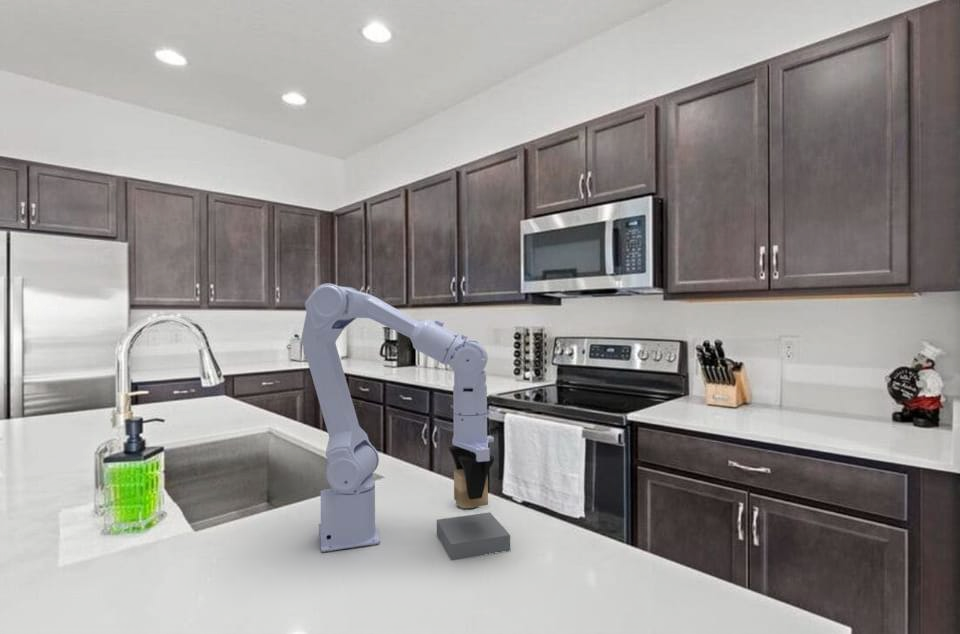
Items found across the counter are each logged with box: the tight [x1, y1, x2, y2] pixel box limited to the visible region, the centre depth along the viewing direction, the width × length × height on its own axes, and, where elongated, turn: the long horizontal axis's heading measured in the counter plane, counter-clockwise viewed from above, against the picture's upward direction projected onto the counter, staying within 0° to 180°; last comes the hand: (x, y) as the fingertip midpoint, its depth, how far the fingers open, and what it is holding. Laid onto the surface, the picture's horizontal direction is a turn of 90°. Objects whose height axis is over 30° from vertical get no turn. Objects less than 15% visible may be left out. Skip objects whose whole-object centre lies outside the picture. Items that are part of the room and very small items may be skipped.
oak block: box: [453, 469, 489, 509], centre depth 83 cm, size 5×5×5 cm
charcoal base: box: [436, 511, 511, 561], centre depth 83 cm, size 10×10×3 cm
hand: (470, 492), depth 83 cm, fingers closed on oak block, 5 cm apart
